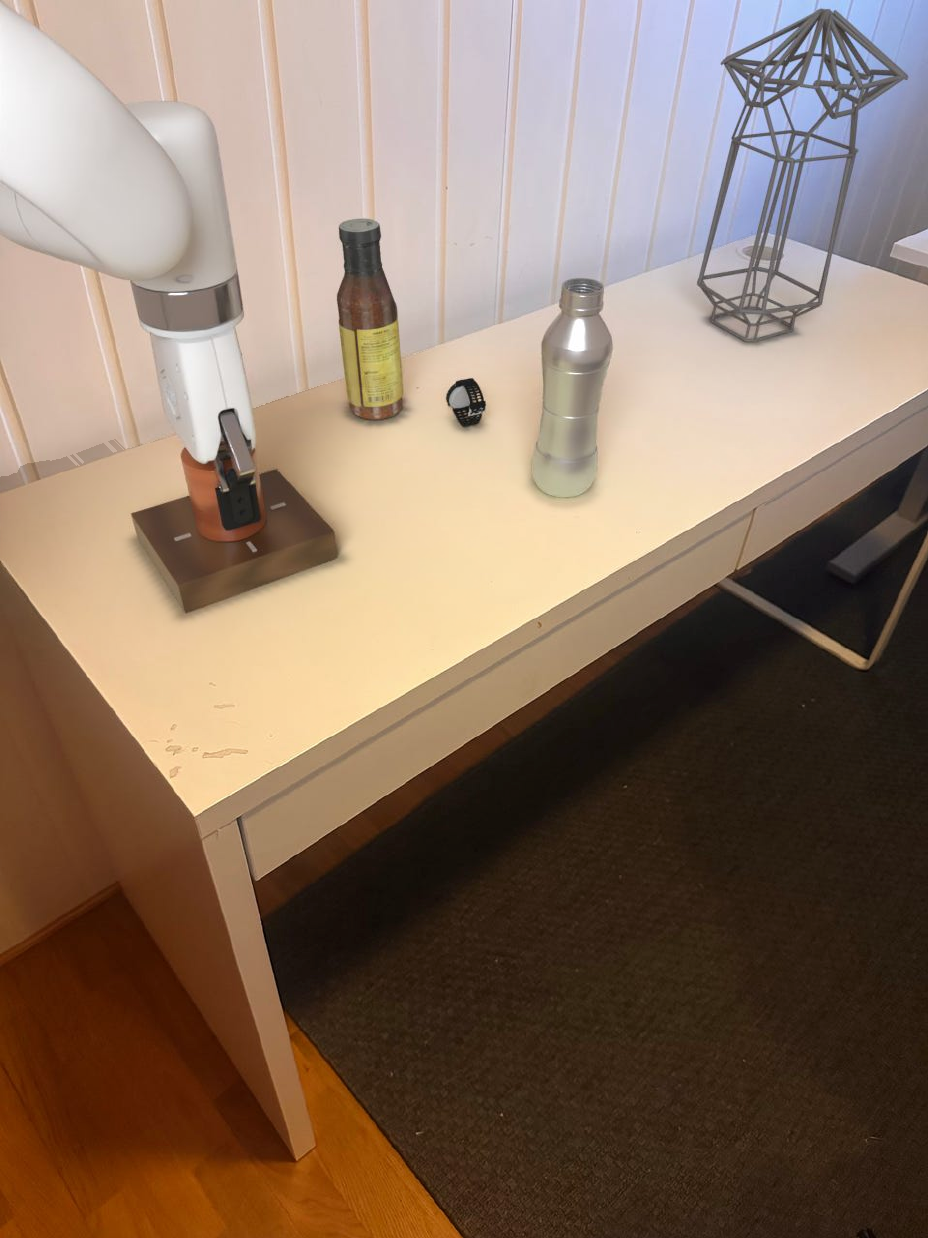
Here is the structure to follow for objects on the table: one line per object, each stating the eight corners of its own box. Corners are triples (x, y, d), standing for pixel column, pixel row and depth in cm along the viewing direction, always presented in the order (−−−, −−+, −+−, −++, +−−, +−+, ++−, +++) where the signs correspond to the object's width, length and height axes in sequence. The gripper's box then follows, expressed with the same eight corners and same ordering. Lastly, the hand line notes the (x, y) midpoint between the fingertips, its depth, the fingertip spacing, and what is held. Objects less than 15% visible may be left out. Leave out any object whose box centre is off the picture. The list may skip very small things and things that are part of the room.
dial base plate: (185, 613, 74) (177, 584, 71) (138, 540, 81) (130, 511, 79) (337, 558, 79) (334, 529, 77) (280, 494, 87) (276, 466, 85)
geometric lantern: (669, 313, 121) (721, 2, 98) (761, 295, 127) (832, -4, 103) (742, 360, 111) (820, 24, 88) (840, 338, 116) (938, 16, 93)
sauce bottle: (413, 403, 101) (408, 219, 88) (387, 427, 97) (378, 238, 84) (362, 391, 103) (350, 210, 90) (335, 415, 99) (318, 228, 86)
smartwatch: (482, 412, 100) (483, 371, 96) (485, 436, 96) (487, 393, 93) (445, 413, 100) (445, 371, 96) (447, 436, 96) (447, 393, 92)
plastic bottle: (520, 497, 87) (533, 293, 74) (542, 463, 92) (558, 266, 79) (583, 512, 85) (609, 306, 72) (602, 476, 90) (630, 278, 77)
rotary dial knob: (209, 549, 75) (193, 475, 70) (187, 514, 79) (170, 441, 74) (276, 528, 77) (265, 455, 73) (251, 495, 81) (239, 423, 76)
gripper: (106, 269, 69) (155, 469, 81) (174, 354, 58) (220, 572, 70) (200, 252, 72) (235, 448, 84) (282, 331, 61) (308, 543, 73)
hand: (227, 502), depth 77 cm, fingers closed on rotary dial knob, 6 cm apart
